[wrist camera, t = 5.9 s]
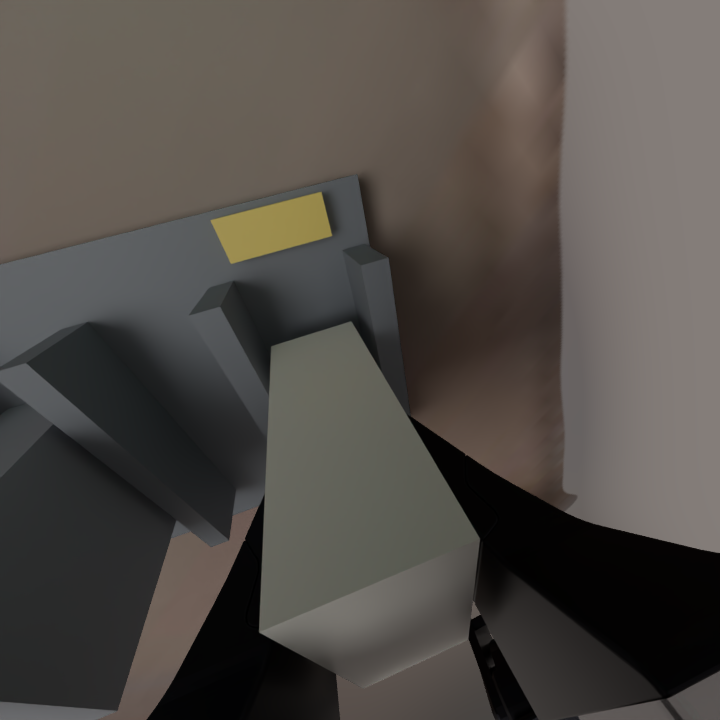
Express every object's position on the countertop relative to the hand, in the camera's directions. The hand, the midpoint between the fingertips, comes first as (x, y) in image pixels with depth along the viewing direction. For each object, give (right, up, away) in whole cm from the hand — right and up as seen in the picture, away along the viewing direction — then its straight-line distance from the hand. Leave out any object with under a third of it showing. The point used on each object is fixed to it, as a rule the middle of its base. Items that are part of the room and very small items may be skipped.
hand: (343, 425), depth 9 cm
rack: (-5, +1, +3) cm, 6 cm away
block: (0, +1, +1) cm, 2 cm away
